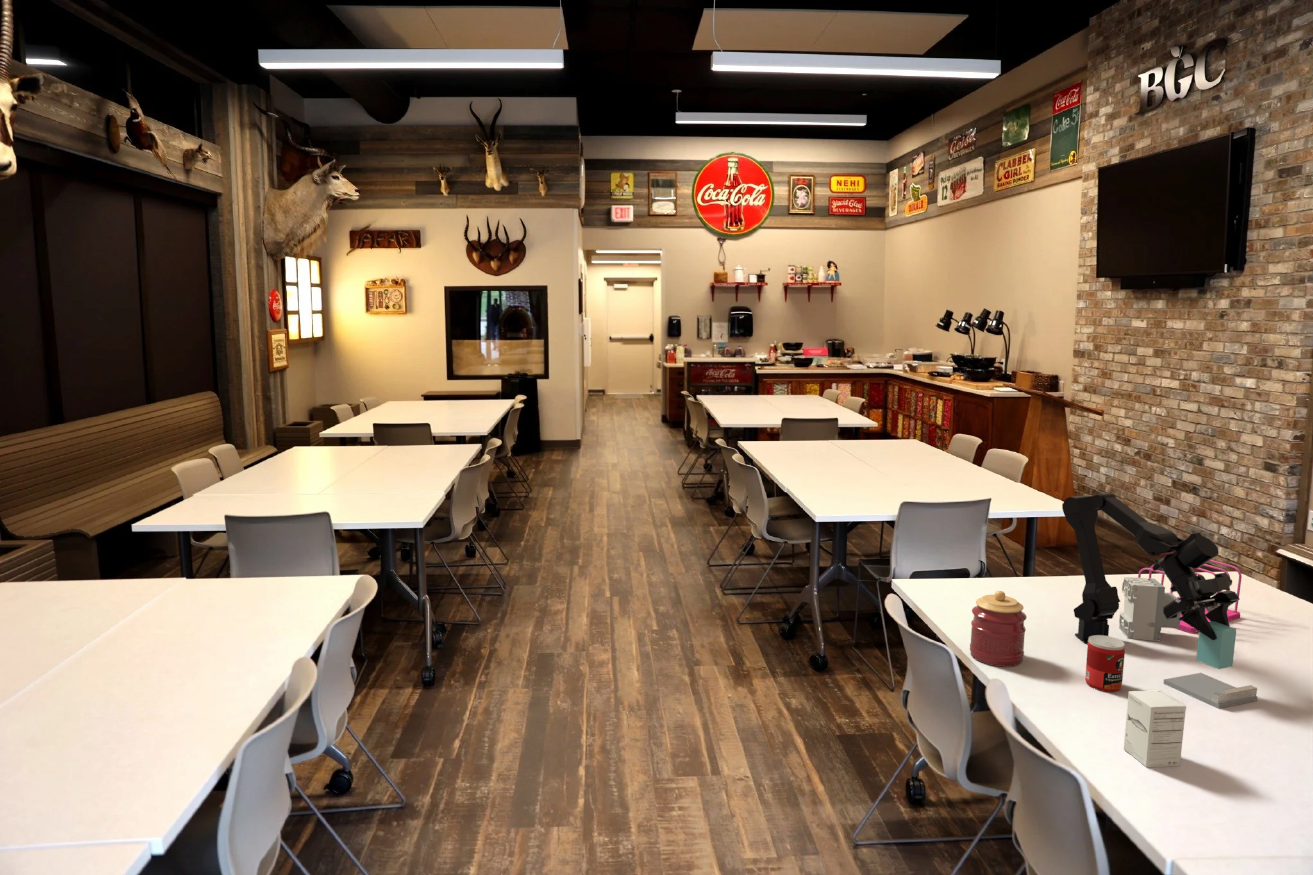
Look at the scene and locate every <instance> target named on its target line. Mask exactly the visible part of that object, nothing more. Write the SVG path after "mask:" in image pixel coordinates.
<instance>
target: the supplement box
mask: <svg viewBox="0 0 1313 875" xmlns="http://www.w3.org/2000/svg"><path fill="white" fill-rule="evenodd" d="M1127 696H1128V698H1127V708H1126V720H1125V729H1124V738H1123V739H1124V740H1123V750H1124V751H1126V752H1127V753H1129V754H1130V755H1131V756H1133V757H1134V758H1135V759H1136V760H1137V761H1138V762H1140V763H1141V764H1142V765H1143V766H1145V768H1166V767H1180V766H1181V760H1182V750H1183V749H1182V747H1183V740H1184V731H1185V730H1184V729H1185V719H1186V711H1187V706H1186V705H1185V704H1183V703H1181V702H1180V701H1179V700H1178V699H1177V700H1176V699H1175V698H1174V697H1172V696H1171V695H1169V694H1168V693H1166V692H1165V691H1163V690H1162V689H1153V690H1133V691H1132V690H1131V691H1128V695H1127Z"/></svg>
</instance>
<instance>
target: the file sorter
mask: <svg viewBox="0 0 1313 875" xmlns="http://www.w3.org/2000/svg"><path fill="white" fill-rule="evenodd" d="M1208 562H1210V563H1215V564H1217V565H1222V566H1225V567H1229V568H1232V569H1235V571H1236V572H1237V574H1238V581H1237V582H1238V583H1237V590H1236V594H1237V596H1238V597H1239V598H1240V593H1241V586H1242V578H1243V577H1242V573H1241V572H1242V571H1241V570H1240V569H1239V568H1238V567H1237V566H1234V565H1231V564H1229V563H1228V564H1227V563H1225V562H1221V561H1216V560H1214V559H1211V560H1210V561H1208ZM1153 565H1154V564H1152V565H1151V566H1150V567H1144V568H1141V569H1140V570H1139V571H1138V575H1137V578H1142V577H1141V576H1142V573H1143V571H1148V578H1151V579H1152V575H1153V574H1152V573H1153V572H1155V573H1158V574H1161V580H1160V581H1161V583H1160V584H1162V585H1163V586H1164V582H1165V577H1166V574H1165V573H1164V571H1163V570H1155V571H1154V570H1153ZM1202 567H1207V568H1211V569H1214V570H1218V571H1221V572H1222V573H1226V574H1227V575H1228V576H1229V577H1230V578H1231V576H1230V573H1229V572H1228V571H1227V570H1226V569H1225V568H1222V567H1219V566H1214V565H1210V564H1208V563H1205V564H1204V565H1202ZM1194 569H1195V570H1198V571H1202V572H1205V573H1208V574H1211V575H1213V576H1214V577H1215V574H1216V573H1215V572H1213V571H1210V570H1208V569H1204V568H1201V567H1199V568H1193V570H1194ZM1194 572H1195V573H1196V575H1197V576H1198V575H1202V573H1199V572H1196V571H1194ZM1171 587H1173V585H1172V584H1171V583H1170V588H1171ZM1229 587H1231V586H1229ZM1169 590H1170V591H1169V593H1172V594H1173V595H1174V592H1172V591H1171V589H1169ZM1227 591H1229V590H1227ZM1217 593H1219V592H1216V594H1217ZM1216 594H1215V595H1216ZM1176 597H1177V598H1180V596H1179V595H1178V596H1176ZM1239 601H1240V600H1238V601H1237V602H1235V605H1234V610H1232V609H1229V608H1228V610H1227V617H1228V621H1229V622H1230V621H1235V620H1237V619H1240V618H1241V612H1239V611H1238V608H1239ZM1203 604H1205V603H1203ZM1207 613H1208V611H1207V610H1206V608H1205V614H1207ZM1181 617H1182V614H1181ZM1206 618H1207V617H1206ZM1207 620H1208V622H1211V621H1210V620H1209V619H1208V618H1207ZM1175 629H1176V630H1180V631H1183V632H1186V633H1190V634H1195V633H1197V632H1198V633H1199V631H1198V630H1197V629H1195V628H1194V627H1192V626H1190V625H1189V624H1187V623H1185V622H1184V621H1180V628H1179V629H1178V628H1175Z"/></svg>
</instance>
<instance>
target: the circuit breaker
mask: <svg viewBox="0 0 1313 875" xmlns="http://www.w3.org/2000/svg"><path fill="white" fill-rule="evenodd" d="M1121 583H1122V584H1121V593H1123V597H1124V602H1123V611H1122V612H1119V619H1118V624H1119V625H1118V626H1119V627H1118V630H1119V629H1120V630H1119V631H1120V632H1121V633H1122V634H1123V636H1125V638H1126V639H1132V638H1133V639H1132V640H1144V641H1145V640H1147V641H1158V640H1160V641H1161V638H1162V634H1161V632H1162V628H1165V629H1176V628H1178V629H1177V630H1180V629H1179V628H1180V620H1179V618H1181V612H1179V613H1177V617H1176V618H1174V619H1168V620H1167V618H1166V617H1165V615H1164V614H1163V607H1164V606H1166V605H1167V604H1169V603H1171V602H1172V601H1174V600H1175V599H1178V598H1177V597H1178V596H1175V595H1174V593H1173V594H1172V593H1170V592H1166V586H1164V584H1163V585H1162V584H1161V583H1160V582H1159V580H1157V579H1155V578H1152V577H1151V578H1149V577H1140V578H1138V577H1132V576H1128V577H1126V576H1123V581H1122V582H1121Z"/></svg>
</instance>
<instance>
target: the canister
mask: <svg viewBox="0 0 1313 875" xmlns="http://www.w3.org/2000/svg"><path fill="white" fill-rule="evenodd" d="M975 604H976V605H975V606H974V607H972V609H971V613H972V614H973V619H972V620H971V622H970V623H971V630H970V634H971V635H970V643H969V651H970V656H971V657H972V658H973V659H974V660H976V661H978V662H981V663H983V664H986V665H991V666H994V667H995V666H996V667H1014V666H1015V667H1016V666H1019V665H1020V664H1022V663H1023V660H1024V657H1025V650H1024V648H1025V632H1026V631H1027V629H1026V627H1025V621H1026V620H1027V614H1026V613H1025V612H1024V611H1023V610H1024V605H1023V604H1022V603H1020V602H1019V601H1018V600H1017V599H1015V598H1013V597H1012V596H1011V597H1010V596H1007V595H1006V594H1005V592H1004V591H1002V590H997V591H996V592H995V593H994V594H986V595H984V596H983V595H982V597H979V598H977V599H976V600H975Z"/></svg>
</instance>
